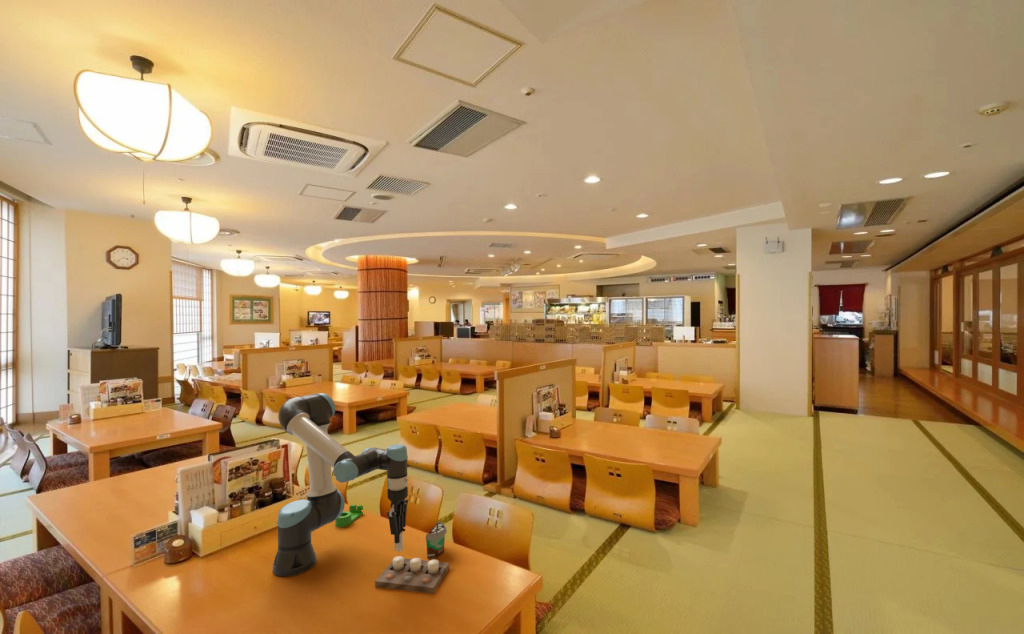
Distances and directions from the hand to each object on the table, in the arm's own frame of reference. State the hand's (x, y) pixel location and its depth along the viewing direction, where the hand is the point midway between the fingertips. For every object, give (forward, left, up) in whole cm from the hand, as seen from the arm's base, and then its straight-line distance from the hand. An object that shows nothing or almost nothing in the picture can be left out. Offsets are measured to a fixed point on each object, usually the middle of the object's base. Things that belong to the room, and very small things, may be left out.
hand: (398, 550), depth 164 cm
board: (+7, -2, -8) cm, 11 cm away
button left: (0, 0, -7) cm, 7 cm away
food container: (+10, +16, -9) cm, 21 cm away
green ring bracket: (-44, +37, -9) cm, 58 cm away
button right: (+14, 0, -7) cm, 15 cm away
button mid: (+7, 0, -7) cm, 10 cm away
